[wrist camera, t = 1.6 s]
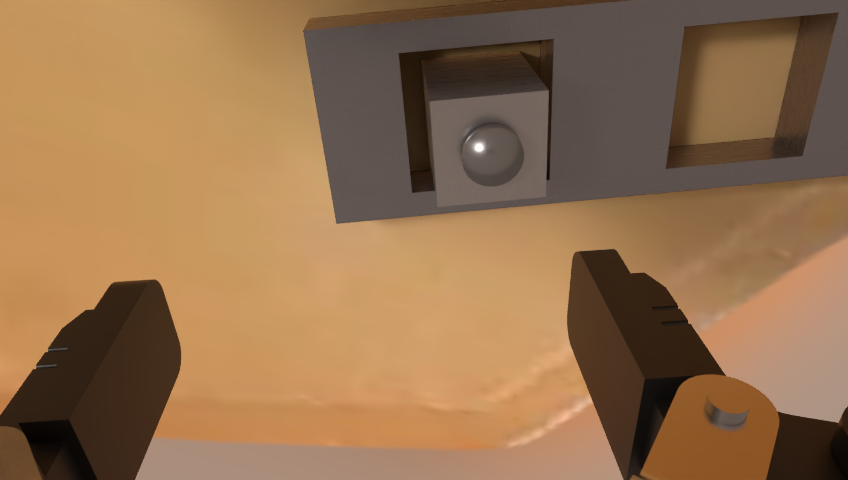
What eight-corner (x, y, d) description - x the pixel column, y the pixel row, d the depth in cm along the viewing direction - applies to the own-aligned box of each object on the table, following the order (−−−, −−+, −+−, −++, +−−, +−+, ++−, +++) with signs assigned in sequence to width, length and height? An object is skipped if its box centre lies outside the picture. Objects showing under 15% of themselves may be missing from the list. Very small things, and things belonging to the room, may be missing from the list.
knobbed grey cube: (421, 59, 28) (430, 107, 23) (518, 50, 28) (553, 96, 23) (428, 150, 31) (438, 215, 25) (518, 142, 31) (549, 204, 25)
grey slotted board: (309, 18, 27) (303, 30, 25) (896, -36, 27) (938, -29, 25) (339, 201, 32) (336, 223, 30) (841, 153, 32) (873, 172, 30)
